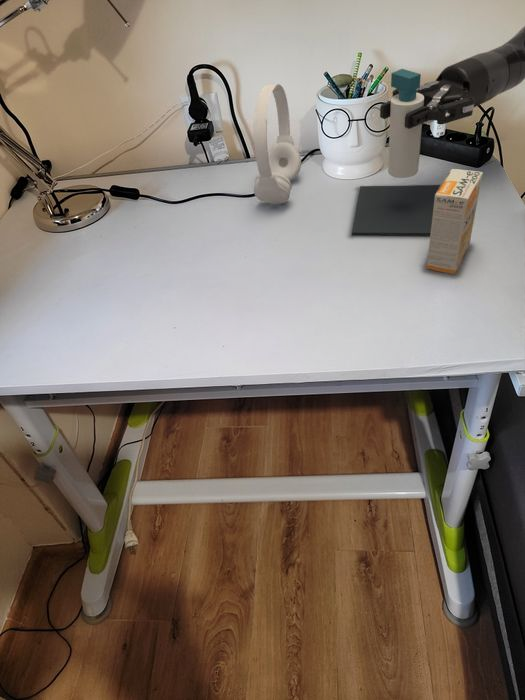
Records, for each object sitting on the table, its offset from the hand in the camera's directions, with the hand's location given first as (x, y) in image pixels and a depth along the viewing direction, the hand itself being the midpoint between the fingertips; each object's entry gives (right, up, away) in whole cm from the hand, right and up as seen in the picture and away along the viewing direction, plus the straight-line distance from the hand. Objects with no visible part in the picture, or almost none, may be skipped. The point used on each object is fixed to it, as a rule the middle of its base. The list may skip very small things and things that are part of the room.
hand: (394, 117), depth 79 cm
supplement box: (+9, -22, +2) cm, 24 cm away
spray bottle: (+4, -6, +8) cm, 10 cm away
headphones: (-17, -4, +24) cm, 30 cm away
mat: (+5, -11, +13) cm, 18 cm away
